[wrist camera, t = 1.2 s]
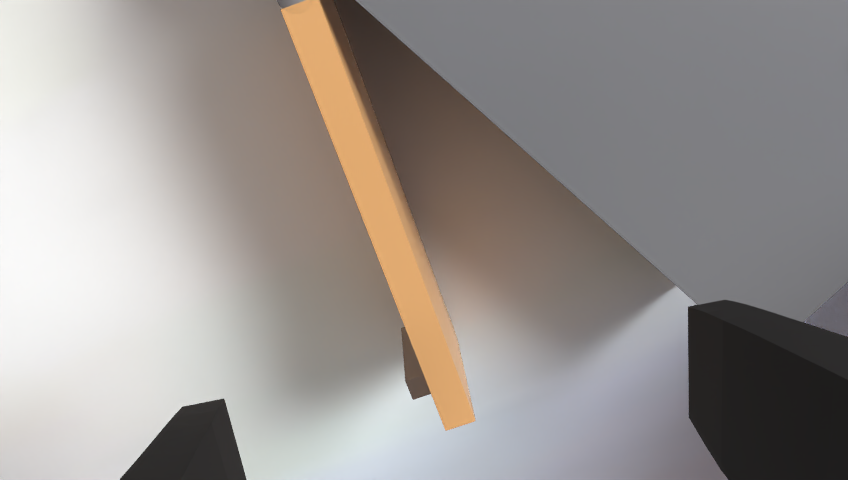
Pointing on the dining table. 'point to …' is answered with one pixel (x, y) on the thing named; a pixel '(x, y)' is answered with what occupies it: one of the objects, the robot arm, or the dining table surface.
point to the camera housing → (672, 125)
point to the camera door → (381, 207)
